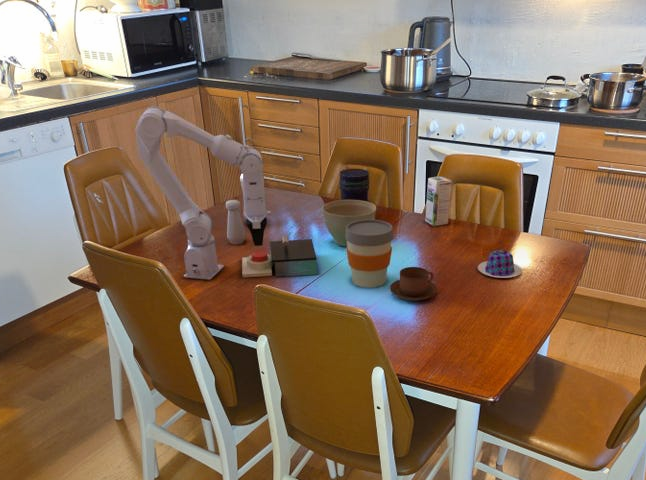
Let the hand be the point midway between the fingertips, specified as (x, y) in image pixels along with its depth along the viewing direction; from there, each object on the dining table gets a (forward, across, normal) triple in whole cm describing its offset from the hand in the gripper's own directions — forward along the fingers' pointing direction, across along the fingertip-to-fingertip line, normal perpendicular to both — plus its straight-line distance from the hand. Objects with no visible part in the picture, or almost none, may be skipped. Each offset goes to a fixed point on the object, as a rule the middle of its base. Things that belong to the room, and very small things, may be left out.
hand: (258, 244), depth 178 cm
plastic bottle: (+7, +38, +1) cm, 38 cm away
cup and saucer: (+7, -24, -39) cm, 46 cm away
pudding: (+7, -13, -66) cm, 67 cm away
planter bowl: (+7, +16, -28) cm, 33 cm away
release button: (+4, 0, 0) cm, 4 cm away
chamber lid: (+2, 0, -9) cm, 10 cm away
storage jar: (+7, +39, -33) cm, 51 cm away
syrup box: (+7, +28, -59) cm, 66 cm away
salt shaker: (+7, +21, +7) cm, 23 cm away
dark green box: (+7, 0, -10) cm, 12 cm away
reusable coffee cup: (+7, -14, -29) cm, 33 cm away
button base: (+7, 0, +1) cm, 7 cm away
